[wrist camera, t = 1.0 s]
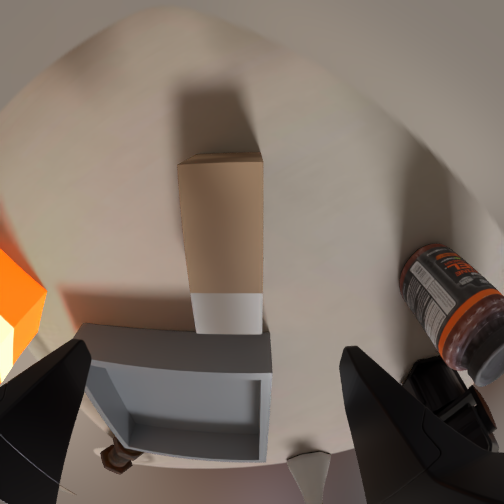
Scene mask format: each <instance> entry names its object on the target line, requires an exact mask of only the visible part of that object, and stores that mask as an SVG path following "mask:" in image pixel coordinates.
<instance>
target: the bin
mask: <svg viewBox="0 0 504 504" xmlns="http://www.w3.org/2000/svg"><path fill="white" fill-rule="evenodd" d="M74 338H77V339H82V340H84V341H85V343H86V345H87V348H88V350H89V352H90V354H91V357H92V361H91V365H90V369H89V374H88V378H87V382H86V386H85V393H86V395H87V396H88V398H89V399H90V401H91V402H92V404H93V405H94V407H95V408H96V410H97V411H98V413H99V414H100V416H101V417H102V418H103V420H104V421H105V423H106V424H107V425H108V427H109V428H110V429H111V431H112V432H113V433H114V435H115V436H116V437H117V439H118V440H119V441H120V443H121V444H122V445H123V446H124V447H125V448H127V449H132V450H137V451H141V452H147V453H152V454H158V455H164V456H171V457H178V458H186V459H195V460H206V461H220V462H266V455H267V443H268V431H269V417H270V403H271V388H272V358H271V343H270V333H262V334H197V333H196V332H186V331H167V330H151V329H138V328H127V327H116V326H106V325H97V324H89V323H83V324H82V326H81V327H80V329H79V330H78V332H77V333H76V335H75V336H74Z"/></svg>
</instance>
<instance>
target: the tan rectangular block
mask: <svg viewBox="0 0 504 504" xmlns="http://www.w3.org/2000/svg"><path fill="white" fill-rule="evenodd" d="M177 170H178V184H179V196H180V208H181V219H182V229H183V238H184V247H185V256H186V264H187V272H188V280H189V287H190V294H191V301H192V308H193V314H194V321H195V327H196V333H197V334H262V303H263V159H262V156H261V152H240V153H210V154H196V155H195V156H193V157H191V158H189V159H187V160H185V161H183V162H182V163H180V164H178V165H177Z"/></svg>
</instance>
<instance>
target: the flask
mask: <svg viewBox="0 0 504 504" xmlns="http://www.w3.org/2000/svg"><path fill="white" fill-rule="evenodd" d="M330 458H331V455H329V454H326V453H323V452H315V453H309V454H302V455H299V456H297V457H294V458H291V459H289V460H287V464H288V467H289V469H290V471H291V473H292V475H293V477H294V478H295V480H296V482H297V484H298V486H299V488H300V490H301V492H302V494H303V497H304V501H305V504H323V500H322V498H323V497H322V496H323V488H324V484H325V479H326V475H327V471H328V467H329V462H330Z"/></svg>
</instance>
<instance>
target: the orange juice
mask: <svg viewBox="0 0 504 504" xmlns="http://www.w3.org/2000/svg"><path fill="white" fill-rule="evenodd" d="M46 293H47V291H46V290H45V289H44V288H43V287H42V286H41V285H39V284H38V283H37V282H36V281H35V280H34V279H32V278H31V277H30V276H29V275H28V274H27V273H26V272H25V271H23V270H22V269H21V268H20V267H19V266H18V265H17V264H16V263H15V262H14V261H13V260H12V259H11V258H10V257H9V256H8V255H6V254H5V253H4V252H3V251H2V250H1V249H0V384H1V383H2V382H3V380H4V378H5V377H6V375H7V374H8V372H9V371H10V369H11V368H12V367H13V364H14V363H15V362H16V360H17V359H18V357H19V356H20V355H21V353H22V352H23V351H24V349H25V348H26V346H27V345H28V344H29V343H30V341H31V340H32V339H33V337H34V336H35V335H36V333H37V332H38V328H39V323H40V318H41V314H42V309H43V305H44V301H45V297H46Z"/></svg>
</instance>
